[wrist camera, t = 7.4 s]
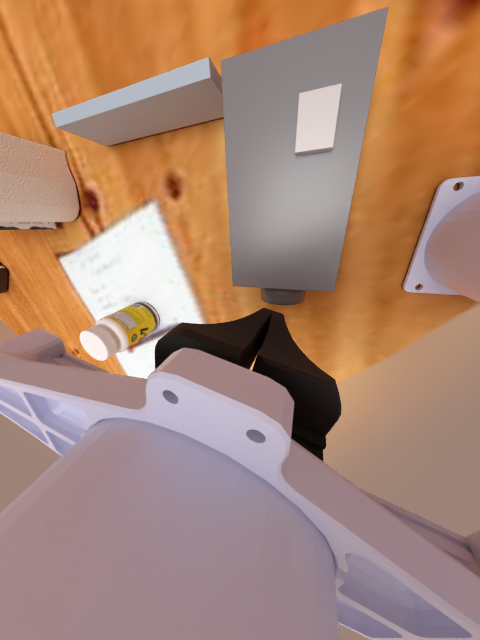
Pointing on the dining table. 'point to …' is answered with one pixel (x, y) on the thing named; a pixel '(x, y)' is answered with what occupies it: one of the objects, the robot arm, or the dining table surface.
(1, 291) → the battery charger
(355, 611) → the robot arm
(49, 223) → the candy bar box
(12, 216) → the paper towel roll
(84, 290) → the dining table surface
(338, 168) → the box
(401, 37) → the dining table surface
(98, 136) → the side door
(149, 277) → the dining table surface
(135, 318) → the supplement bottle
